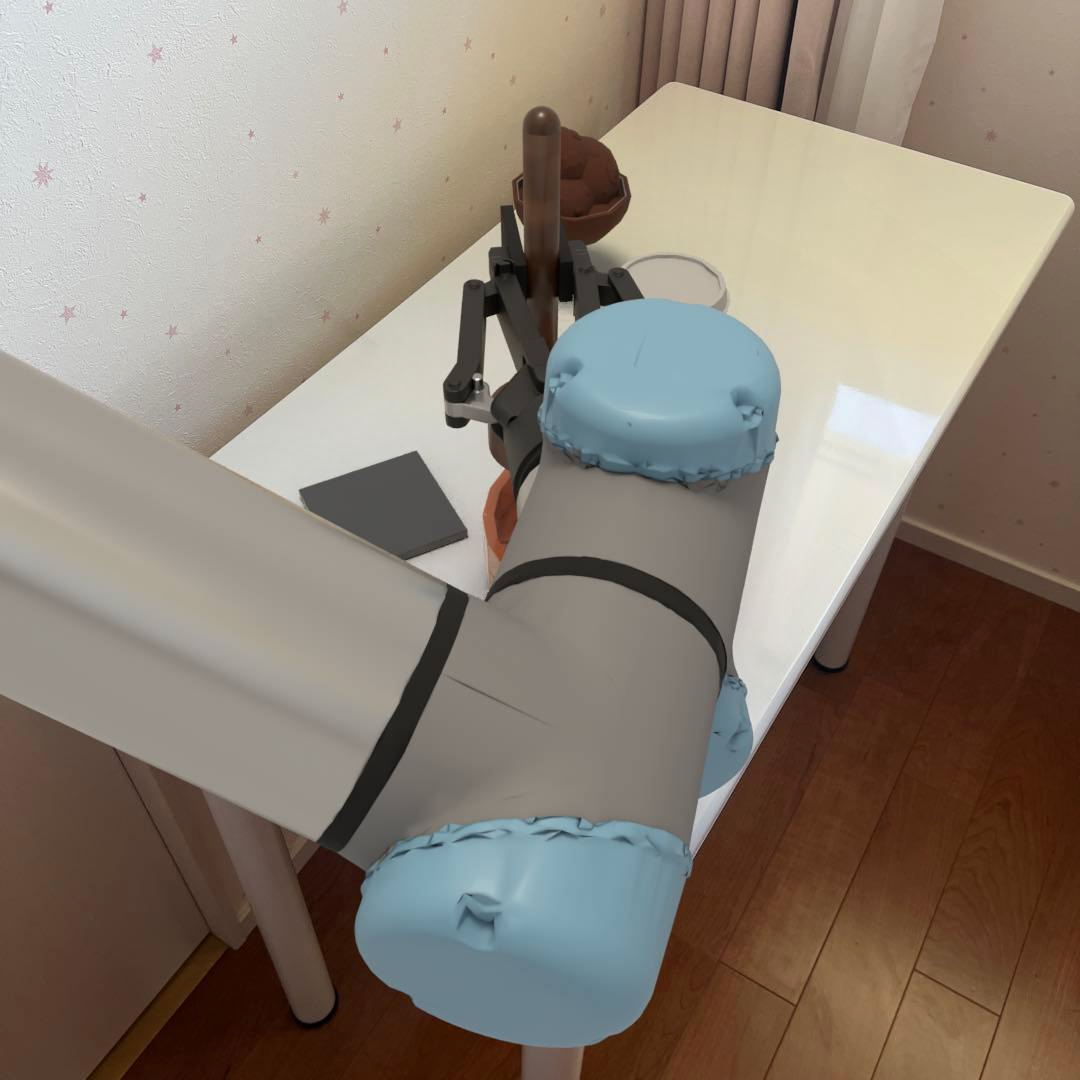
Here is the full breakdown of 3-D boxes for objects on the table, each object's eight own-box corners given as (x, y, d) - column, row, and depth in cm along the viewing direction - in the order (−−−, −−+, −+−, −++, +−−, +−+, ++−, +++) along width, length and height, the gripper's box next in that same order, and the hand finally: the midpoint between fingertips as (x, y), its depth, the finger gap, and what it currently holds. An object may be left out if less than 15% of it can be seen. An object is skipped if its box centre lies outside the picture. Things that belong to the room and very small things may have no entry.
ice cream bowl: (565, 324, 102) (567, 174, 91) (491, 272, 108) (484, 125, 97) (648, 282, 106) (660, 134, 95) (573, 234, 112) (576, 89, 101)
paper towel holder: (517, 492, 70) (509, 153, 53) (471, 427, 74) (451, 94, 58) (613, 458, 72) (635, 122, 55) (563, 396, 77) (569, 67, 60)
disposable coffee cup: (720, 439, 91) (739, 318, 82) (604, 439, 91) (611, 318, 82) (708, 367, 97) (724, 248, 89) (600, 367, 98) (606, 248, 89)
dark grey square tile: (343, 582, 80) (342, 575, 80) (299, 496, 87) (297, 489, 86) (468, 536, 84) (467, 529, 83) (417, 457, 90) (416, 449, 89)
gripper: (439, 560, 54) (411, 285, 70) (739, 530, 55) (644, 266, 71) (427, 446, 48) (400, 175, 64) (761, 415, 50) (653, 158, 66)
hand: (528, 224), depth 68 cm, fingers closed on paper towel holder, 2 cm apart
